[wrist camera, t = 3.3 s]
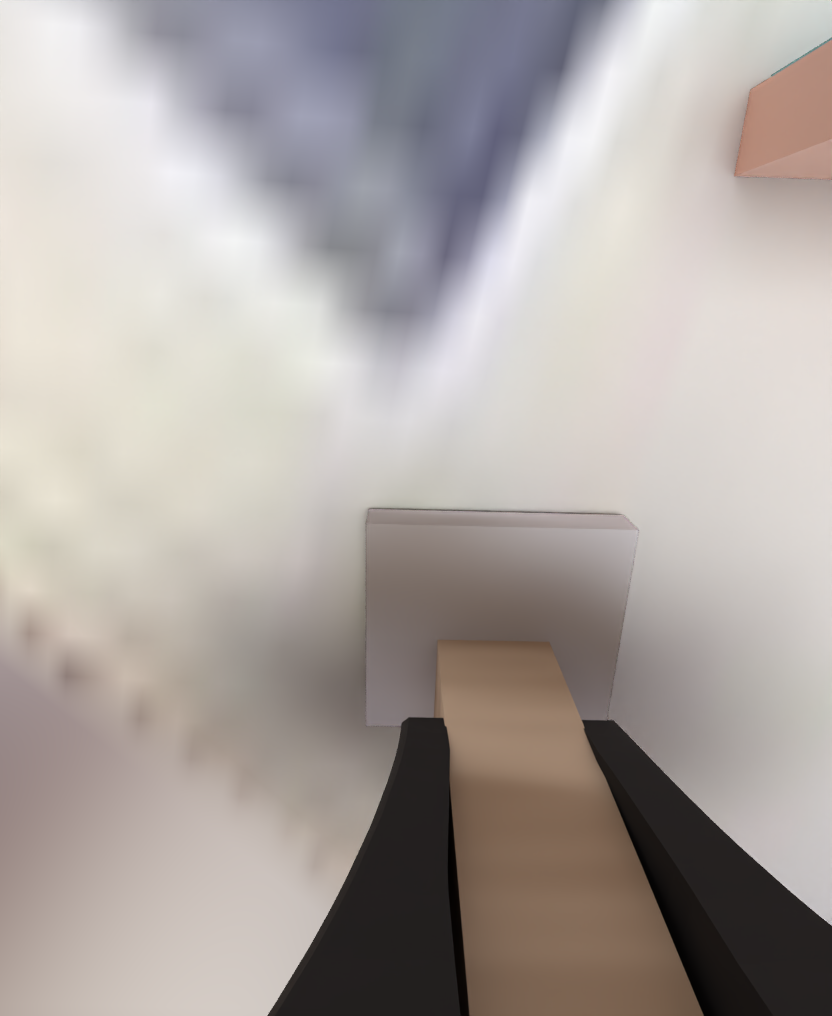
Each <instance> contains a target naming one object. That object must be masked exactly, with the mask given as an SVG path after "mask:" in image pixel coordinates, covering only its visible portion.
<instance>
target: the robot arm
mask: <svg viewBox="0 0 832 1016" xmlns="http://www.w3.org/2000/svg"><path fill="white" fill-rule="evenodd" d="M582 722H583V725H584V727H585V728H583V729H584V732H585V734H586V737H587V739H588V741H589V744H590V746H591V749H592V751H593V754H594V756H595V759H596V761H597V763H598V765H599V767H600V769H601V771H602V772H603V774H604V776H605V778H606V781H607V783H608V785H609V788H610V790H611V793H612V795H613V797H614V800H615V802H616V805H617V807H618V810H619V812H620V814H621V817H622V819H623V822H624V824H625V827H626V829H627V831H628V834H629V836H630V839H631V841H632V843H633V846H634V848H635V851H636V853H637V856H638V858H639V860H640V863H641V865H642V868H643V870H644V873H645V875H646V877H647V880H648V882H649V885H650V887H651V889H652V892H653V894H654V897H655V899H656V902H657V904H658V906H659V909H660V911H661V914H662V916H663V919H664V921H665V923H666V926H667V928H668V931H669V933H670V935H671V938H672V940H673V943H674V945H675V948H676V950H677V952H678V955H679V957H680V960H681V962H682V965H683V967H684V969H685V972H686V974H687V977H688V979H689V981H690V984H691V986H692V989H693V991H694V994H695V996H696V998H697V1001H698V1003H699V1006H700V1008H701V1010H702V1013H703V1015H704V1016H832V926H831V925H830V924H829V923H827V922H826V921H825V920H824V919H822V918H821V917H820V916H819V915H817V914H816V913H815V912H814V911H812V910H811V909H810V908H809V907H808V906H807V905H805V904H804V903H803V902H802V901H801V900H799V899H798V898H797V897H796V896H795V895H794V894H792V893H791V892H790V891H789V890H788V889H787V888H785V887H784V886H783V885H782V884H781V883H780V882H779V881H777V880H776V879H775V878H774V877H773V876H772V875H771V874H770V873H769V872H767V871H766V870H765V869H764V868H763V867H762V866H761V865H760V864H758V863H757V862H756V861H755V860H754V859H753V858H752V857H751V856H749V855H748V854H747V853H746V852H745V851H744V850H743V849H742V848H741V847H740V846H739V845H737V844H736V843H735V842H734V841H733V840H732V839H731V838H730V837H729V836H728V835H727V834H726V833H725V832H724V831H722V830H721V829H720V828H719V827H718V826H717V825H716V824H715V823H714V822H713V821H712V820H711V819H710V818H709V817H708V816H707V815H706V814H705V813H704V812H703V811H702V810H701V809H700V808H699V807H698V806H697V805H696V804H695V803H694V802H693V801H692V800H691V799H690V798H689V797H688V796H687V795H686V794H685V793H684V792H683V791H682V790H681V789H680V788H679V787H678V786H677V785H676V784H675V783H674V782H673V781H672V780H671V779H670V778H669V777H668V776H667V775H666V774H665V773H664V772H663V771H662V770H661V769H660V768H659V767H658V766H657V765H656V764H655V763H654V762H653V761H652V760H651V759H650V758H649V757H648V756H647V755H646V754H645V753H644V751H643V750H642V749H641V748H640V747H639V746H638V745H637V744H636V743H635V742H634V741H633V740H632V739H631V738H630V737H629V736H628V735H627V734H626V733H625V732H624V731H623V730H622V729H621V728H620V727H619V726H618V725H617V724H616V723H615V722H614V721H613V720H582ZM449 778H450V745H449V738H448V732H447V726H445V724H444V718H426V717H408V718H407V719H406V720H405V721H403V722H402V724H401V734H400V740H399V745H398V749H397V753H396V757H395V760H394V764H393V767H392V770H391V773H390V776H389V779H388V782H387V785H386V788H385V790H384V793H383V795H382V798H381V801H380V803H379V806H378V809H377V811H376V814H375V816H374V819H373V821H372V824H371V826H370V828H369V831H368V833H367V835H366V837H365V839H364V842H363V844H362V846H361V848H360V850H359V852H358V855H357V857H356V859H355V861H354V863H353V865H352V868H351V870H350V872H349V874H348V876H347V878H346V880H345V882H344V884H343V886H342V888H341V890H340V892H339V894H338V896H337V898H336V900H335V902H334V904H333V905H332V907H331V909H330V911H329V913H328V915H327V917H326V918H325V920H324V922H323V924H322V926H321V927H320V929H319V931H318V933H317V935H316V937H315V938H314V940H313V942H312V944H311V945H310V947H309V949H308V951H307V952H306V954H305V956H304V957H303V959H302V960H301V962H300V964H299V965H298V967H297V969H296V970H295V972H294V974H293V975H292V977H291V979H290V980H289V982H288V984H287V985H286V987H285V988H284V990H283V992H282V993H281V995H280V997H279V998H278V1000H277V1002H276V1003H275V1005H274V1006H273V1008H272V1010H271V1011H270V1013H269V1014H268V1016H460V1006H459V997H458V987H457V977H456V967H455V957H454V947H453V936H452V925H451V914H450V904H449V893H448V822H449Z"/></svg>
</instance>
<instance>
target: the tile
mask: <svg viewBox="0 0 832 1016" xmlns="http://www.w3.org/2000/svg"><path fill="white" fill-rule="evenodd" d="M734 176H744V177H772V178H799V179H827V180H832V38H830V39H829V40H827V41H825V42H824V43H822V44H821V45H819V46H817V47H816V48H814V49H813V50H811V51H809V52H808V53H806V54H805V55H803V56H801V57H800V58H798V59H796V60H795V61H793V62H792V63H790V64H788V65H787V66H785V67H784V68H782V69H780V70H779V71H777V72H776V73H774V74H772V76H771V77H770V78H769V79H767V80H765V81H764V82H762V83H761V84H759V85H757V86H756V87H754V88H752V89H751V90H750V94H749V100H748V105H747V110H746V115H745V121H744V126H743V131H742V137H741V142H740V147H739V153H738V158H737V163H736V169H735V174H734Z"/></svg>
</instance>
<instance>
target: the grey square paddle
mask: <svg viewBox="0 0 832 1016" xmlns="http://www.w3.org/2000/svg"><path fill="white" fill-rule="evenodd" d="M638 533H639V530H638V529H637V528H636V527H635V526H634V525H633V524H632V523H631V522H630V521H629V520H628V519H627V518H626V517H625V516H624V515H604V514H562V513H520V512H478V511H436V510H394V509H369V511H368V516H367V521H366V726H401V724H402V722H403V721H405V720H406V719H407V718H408V717H426V718H444V724H445V726H447V732H448V738H449V745H450V778H449V822H448V893H449V904H450V914H451V925H452V936H453V947H454V957H455V967H456V977H457V987H458V997H459V1006H460V1016H704V1015H703V1013H702V1010H701V1008H700V1006H699V1003H698V1001H697V998H696V996H695V994H694V991H693V989H692V986H691V984H690V981H689V979H688V977H687V974H686V972H685V969H684V967H683V965H682V962H681V960H680V957H679V955H678V952H677V950H676V948H675V945H674V943H673V940H672V938H671V935H670V933H669V931H668V928H667V926H666V923H665V921H664V919H663V916H662V914H661V911H660V909H659V906H658V904H657V902H656V899H655V897H654V894H653V892H652V889H651V887H650V885H649V882H648V880H647V877H646V875H645V873H644V870H643V868H642V865H641V863H640V860H639V858H638V856H637V853H636V851H635V848H634V846H633V843H632V841H631V839H630V836H629V834H628V831H627V829H626V827H625V824H624V822H623V819H622V817H621V814H620V812H619V810H618V807H617V805H616V802H615V800H614V797H613V795H612V793H611V790H610V788H609V785H608V783H607V781H606V778H605V776H604V774H603V772H602V771H601V769H600V767H599V765H598V763H597V761H596V759H595V756H594V754H593V751H592V749H591V746H590V744H589V741H588V739H587V737H586V734H585V732H584V729H583V728H585V727H584V725H583V722H582V720H607V715H608V709H609V703H610V697H611V691H612V686H613V680H614V674H615V668H616V662H617V656H618V650H619V645H620V639H621V633H622V627H623V621H624V615H625V609H626V604H627V598H628V592H629V586H630V580H631V574H632V568H633V563H634V557H635V551H636V545H637V539H638Z"/></svg>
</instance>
